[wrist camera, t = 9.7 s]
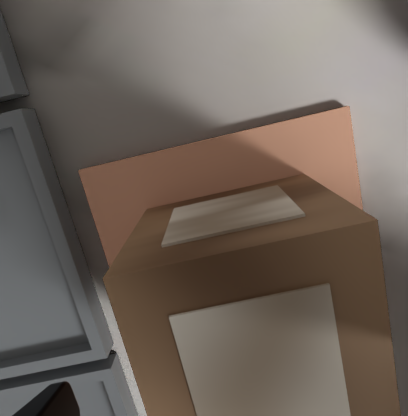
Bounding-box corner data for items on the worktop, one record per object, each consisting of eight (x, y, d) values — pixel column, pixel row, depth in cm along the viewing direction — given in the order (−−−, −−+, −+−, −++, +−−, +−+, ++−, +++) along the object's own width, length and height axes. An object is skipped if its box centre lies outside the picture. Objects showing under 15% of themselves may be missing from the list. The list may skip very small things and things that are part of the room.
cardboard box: (303, 171, 13) (379, 217, 8) (327, 316, 15) (406, 448, 9) (146, 206, 14) (100, 276, 8) (184, 344, 15) (170, 489, 9)
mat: (345, 106, 13) (349, 106, 13) (376, 342, 16) (381, 348, 15) (81, 168, 14) (78, 170, 13) (151, 386, 16) (149, 393, 16)
